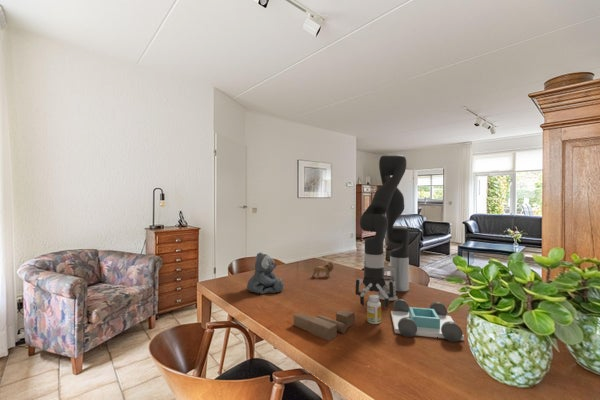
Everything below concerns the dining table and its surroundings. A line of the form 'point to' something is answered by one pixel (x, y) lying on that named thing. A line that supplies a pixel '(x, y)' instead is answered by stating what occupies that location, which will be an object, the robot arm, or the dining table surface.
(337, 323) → the wooden block set
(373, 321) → the supplement bottle
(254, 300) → the dining table surface
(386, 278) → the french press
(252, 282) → the koala plush
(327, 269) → the lion figurine
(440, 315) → the chassis
